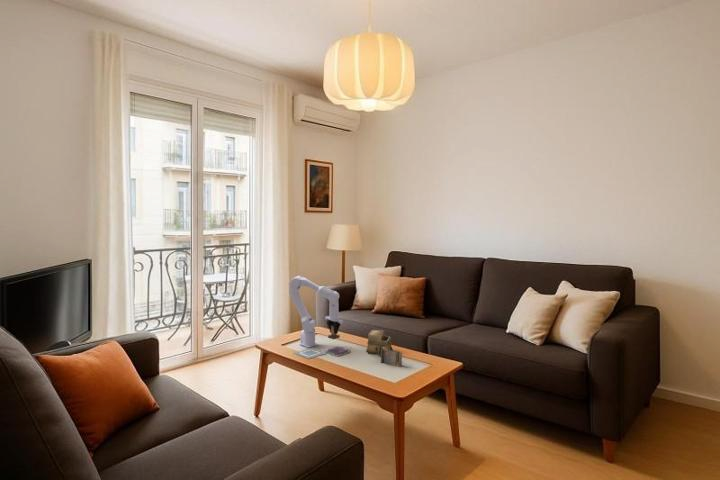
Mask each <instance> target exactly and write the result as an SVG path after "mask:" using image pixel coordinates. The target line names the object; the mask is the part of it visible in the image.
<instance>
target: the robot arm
mask: <svg viewBox="0 0 720 480" xmlns="http://www.w3.org/2000/svg"><path fill="white" fill-rule="evenodd" d="M288 286H289V289H288V291H289V292H288V293H289V295H290V298H291V300H292V302H293V304H294V305H295V308H296V310H297V312H298V314H299V317H300V319H301V325H302V330H301V332H300V334H299V335H300V336H299V341H300V343H299V345H300V346H302V347H306V348H312V347H315V346H318V345H319V344H318V343H316V329H315V327H316V326H317V321H316V320H315V319H313V317H312V315H310V314H309V312H308V311H309V310H308V309H307V307H306V306H305V304H304V301H303V299H302V297H301V295H300V293H299V291H300V288H302V287H308V288H309V289H311V290H314V291H315V292H317V294H318V295H319V296H322V297H323V298H325V299H328V301H329V304H328V305H329V310H328V311H329V312H328V315H327V316H325V317H324V319H325V321H326V320H327V321H326V324H327V326H328V329H329V332H330V334H331V326H332V325H333V327H334V334H337V335H338V332H339V330H340V329H339V328H340V327H341V325H342V324H344V320H343V319H341V318H340V317H339V314H340V313H339V308H340V307H339V299H340V293H339V291H338V292H337V290H333V289H330V288H328V287H327V286H326V285H321V286H320V285H318V284H316V283H315V282H313V281H311V280H309V279H308V278H306V277H303V276H302V275H296V276H295V277H292V278H290V281H289V282H288Z"/></svg>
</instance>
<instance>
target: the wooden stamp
mask: <svg viewBox="0 0 720 480" xmlns="http://www.w3.org/2000/svg"><path fill="white" fill-rule="evenodd" d="M327 337H328V339H331V340H336V339H340V334H338V333H337V334H334V327H333V325H332V326H331V333H330V334H328V335H327Z"/></svg>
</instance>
